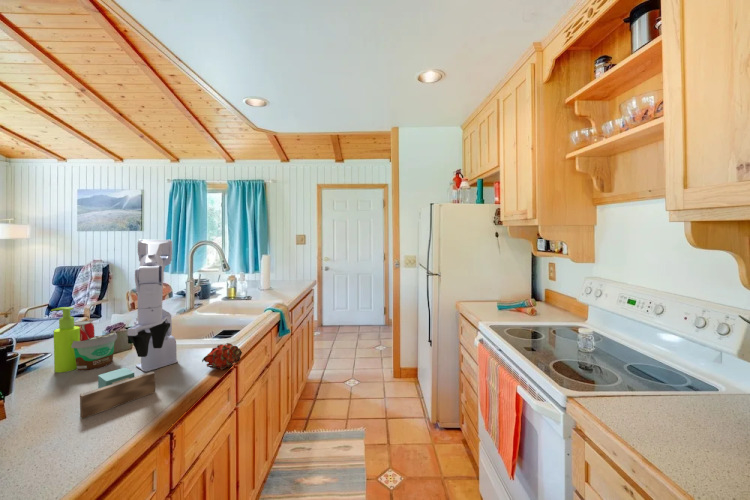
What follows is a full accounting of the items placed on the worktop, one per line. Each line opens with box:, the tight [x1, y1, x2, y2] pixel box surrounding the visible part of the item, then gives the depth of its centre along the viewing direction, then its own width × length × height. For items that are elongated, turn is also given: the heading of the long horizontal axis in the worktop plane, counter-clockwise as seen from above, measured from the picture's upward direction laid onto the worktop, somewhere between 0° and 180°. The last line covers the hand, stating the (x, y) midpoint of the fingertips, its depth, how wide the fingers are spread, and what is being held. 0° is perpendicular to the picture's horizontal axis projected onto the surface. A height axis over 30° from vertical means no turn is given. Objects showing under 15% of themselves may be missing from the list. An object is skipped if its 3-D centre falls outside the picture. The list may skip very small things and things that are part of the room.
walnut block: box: [79, 370, 156, 420], centre depth 77 cm, size 15×2×6 cm, turn 148°
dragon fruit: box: [201, 342, 243, 371], centre depth 100 cm, size 8×8×12 cm
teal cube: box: [97, 367, 135, 389], centre depth 81 cm, size 6×6×6 cm
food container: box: [71, 329, 118, 372], centre depth 99 cm, size 12×6×10 cm, turn 168°
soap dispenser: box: [50, 306, 80, 374], centre depth 96 cm, size 6×7×20 cm
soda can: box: [74, 320, 96, 341], centre depth 107 cm, size 7×7×12 cm
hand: (150, 352), depth 88 cm, fingers open, 6 cm apart
